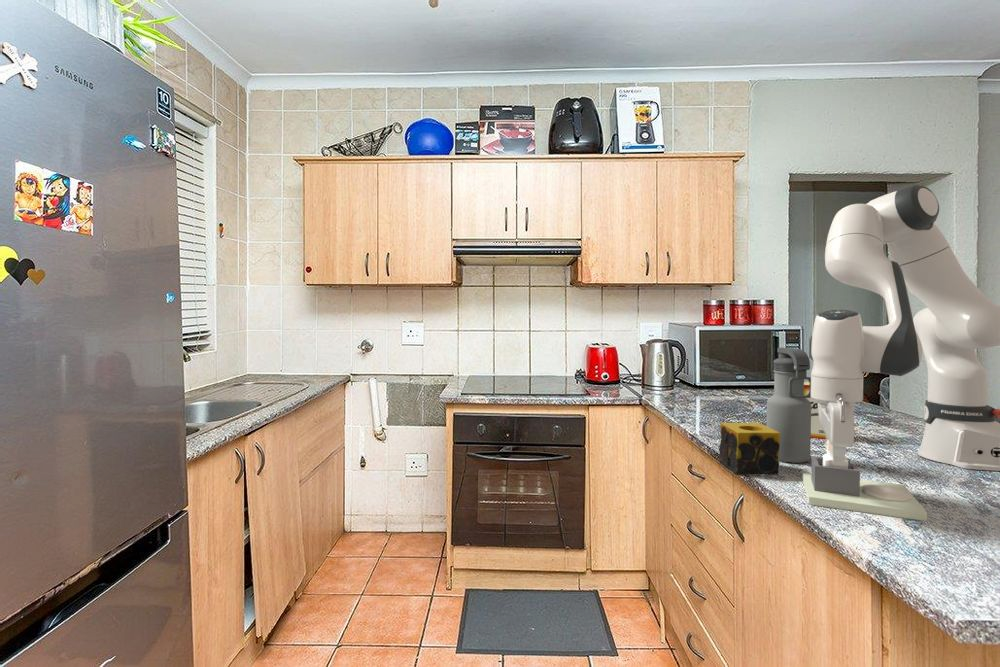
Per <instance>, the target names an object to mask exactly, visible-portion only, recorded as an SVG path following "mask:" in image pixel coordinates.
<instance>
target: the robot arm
mask: <svg viewBox="0 0 1000 667" xmlns="http://www.w3.org/2000/svg"><path fill="white" fill-rule="evenodd" d="M937 198H938V197H936V195H935V193H934V192H933V191H932V190H931V189H930V188H928V187H926V186H923V185H921V184H918V183H917V184H911V185H907V186H904V187H900V188H898V189H897V190H896V191H892V192H890V193H886V194H884V195H881V196H878V197H876V198H874V199H871V200H870V201H868V202H867V203H853V204H848V205H846V206H845V207H843V208H841V209H840V210H838V211H837V212H836V214H835V215H834V217H833V219H832V222H831V224H830V227H829V230H828V233H827V238H826V244H825V250H824V263H825V270H826V271H827V273H828V274H829V275H830V276H831V277H833V278H834V279H835V280H837V281H838V282H840V283H842V284H844V285H847V286H851V287H855V288H858V289H864V290H868V291H870V292H872V293H875V294H877V295H879V296H881V297H882V298H883V300H884V301H885V302H884V303H885V307H886V313H887V319H888V324H885V325H881V326H878V325H877V326H875V325H874V326H873V325H872V326H869V325H863V322H862V316H861V314H860V313H859V312H857V311H854V310H849V309H832V310H825V311H821V312H819V313H817V314H816V316H815V317H814V318H815V319H814V323H813V324H814V325H813V328H812V335H811V336H810V337H809V347H808V348H809V349H808V351H809V352H808V354H809V356H808V358H809V360H811V361H812V363H813V364H812V369H811V371H810V378H811V398H813V399H817V403H818V413H819V420H820V424H821V426H822V428H823V430H824V432H825V434H826V440H825V441H826V442H825V443H827V440H828V439H829V441H830V443H831V445H832V447H833V454H832V461H833V464H834V465H838V466H843V465H844V457H846V452H847V448H853V446H854V443H855V416H854V409H856V403H861V402H863V401H864V373H876V374H878V373H879V374H881V375H882V374H883V375H889V376H896V377H897V376H898V377H903V376H905V375H907V374H909V373H910V372H913V371H914V370H916V369H918V367H920V365H921V362H922V358H923V354H924V360H925V363H926V369H927V398H926V400H925V402H924V407H923V410H924V411H923V420H924V422H925V424H924V425H925V426H924V431H923V437H922V441H921V443H920V447H919V449H918V450H917V455H919V456H920V457H922V458H925V459H927V460H930V461H935V462H938V463H939V462H940V463H943V464H948V465H951V466H955V467H958V468H961V469H966V470H967V469H968V470H979V471H981V470H982V471H996V472H999V471H1000V422H998V421H997V420H998V419H1000V408H994V407H993V406H990V405H989V404H988V387H989V386H988V384H989V383H988V382H989V379H988V378H989V376H988V372H987V370H986V369H985V368H984V366H982V364H981V362H980V360H979V358H978V355H977V353H976V350H984V349H989V348H994V347H998V346H1000V306H999V305H997V304H996V303H994V302H993V301H992V300H991V299H989V298H988V297H987V296H986V294H985V293H983V291H982V290H980V288H979V287H978V286H977V285H976V284H975V283H974V282H973V281H972V280H971V278H970V277H969V276H968V275H967V274H966V272H965V271H964V269H963V267H962V266H961V264H960V262H959V261H958V260H959V259H958V258H957V257H956V255H955V253H954V252H953V249H952V247H951V246H950V243H949V241H948V240H947V238H946V237H945V235H944V233H943V232H942V231H941V229H940V228H939V227H938V226H937V224H936V223H935V222H936V221H937V218H938V216H939V214H940V213H939V212H940V204H939V201H938V199H937ZM884 245H887V248H888V250H889V253H890V256H891V258H892V260H891V259H889V258H888V257H887V255H886V253H885V251H884ZM908 291H909V292H910V294H911V295H912V296H914V297H915V298H917V299H918V300H919V301H920V302H922V304H924V306H925V307H924V308H922V309H920V310H919V311H918V312H916V314H914V317H913V312H912V307H911V304H910V302H911V301H910V299H909V293H908Z"/></svg>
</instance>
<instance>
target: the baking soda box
mask: <svg viewBox="0 0 1000 667" xmlns="http://www.w3.org/2000/svg"><path fill="white" fill-rule="evenodd" d="M809 392H810V382H809V381H808V382H807V381H804V396H806V395H808V394H809ZM806 399H808V400H809V401H810V403H811V439H813V438H818V439H817V440H823V439H826V434H825V432H824V430H823V428H822V426H821V424H820V420H819V413H818V403H817V399H813V398H806Z"/></svg>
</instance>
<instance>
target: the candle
mask: <svg viewBox="0 0 1000 667" xmlns="http://www.w3.org/2000/svg"><path fill="white" fill-rule="evenodd" d="M719 427H720V428H719V429H720V430H719V431H720V433H719V434H720V443H719V447H718V452H719V453H718V454H719V455H718V462H719V463H720V464H721V465H722V466H724V467H725V468H727V469H728V470H730V471H731V472H733V473H734V474H736V475H753V474H766V475H779V473H780V461H779V447H780V433H779V432H777V431H775V430H773V429H771V428H769V427H767V425H764V424H762V423H760V422H720V424H719Z"/></svg>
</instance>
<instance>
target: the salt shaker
mask: <svg viewBox="0 0 1000 667" xmlns="http://www.w3.org/2000/svg"><path fill="white" fill-rule="evenodd" d="M825 448H826V453H825V454H822V458H823V466H828V467H837V468H846V469H848V458H847V457H846V456H845V457H844V465H843V466H838V465H834V464H833V461H832V454H833V447H832V445H831V443H830V441H829V439H828V440H827V442H826V447H825Z"/></svg>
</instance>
